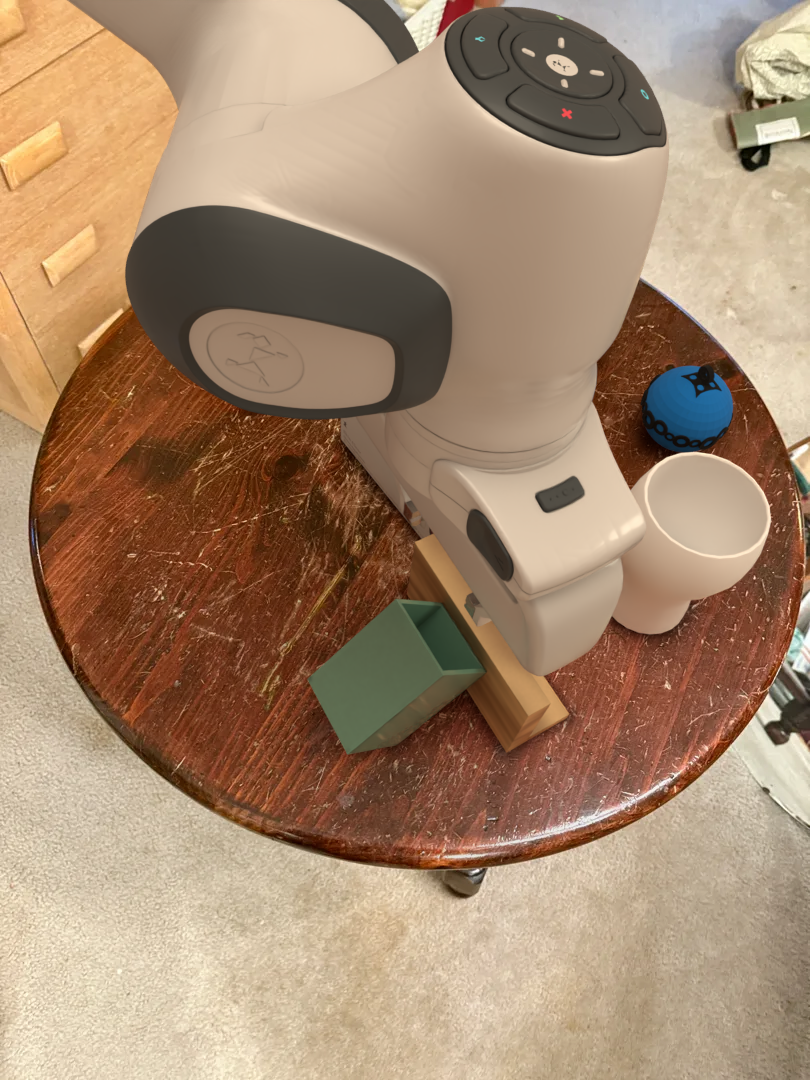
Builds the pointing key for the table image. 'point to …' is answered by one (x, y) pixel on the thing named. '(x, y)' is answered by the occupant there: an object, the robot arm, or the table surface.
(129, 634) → the table surface
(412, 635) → the green rectangular container
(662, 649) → the table surface
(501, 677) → the stepped wooden molding
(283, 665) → the table surface
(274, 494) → the table surface
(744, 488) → the cup
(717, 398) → the ornament
